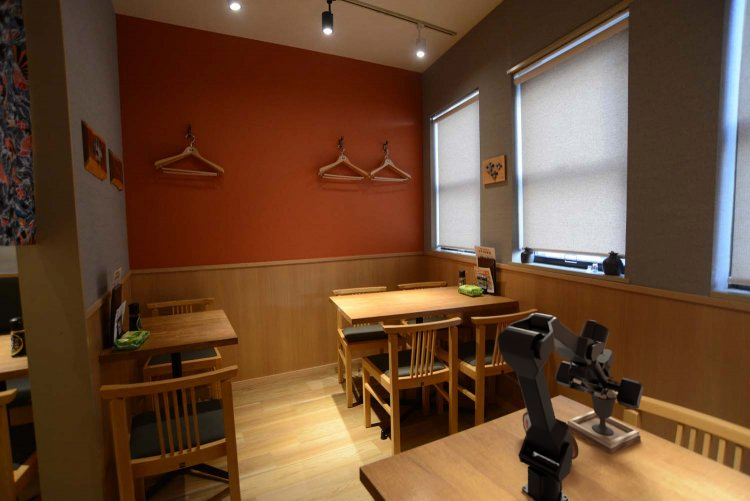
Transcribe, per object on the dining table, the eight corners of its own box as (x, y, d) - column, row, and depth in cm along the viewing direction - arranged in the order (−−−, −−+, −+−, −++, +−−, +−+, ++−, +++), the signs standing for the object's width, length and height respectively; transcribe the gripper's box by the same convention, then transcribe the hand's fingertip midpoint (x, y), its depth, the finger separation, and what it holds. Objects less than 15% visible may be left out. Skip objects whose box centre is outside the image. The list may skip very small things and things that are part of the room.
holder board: (610, 454, 85) (610, 444, 85) (566, 428, 96) (566, 420, 96) (640, 440, 90) (640, 431, 90) (595, 417, 101) (595, 409, 101)
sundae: (624, 435, 90) (625, 379, 89) (603, 439, 89) (604, 383, 88) (602, 421, 97) (602, 369, 96) (582, 425, 95) (582, 372, 94)
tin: (579, 467, 81) (579, 432, 81) (569, 471, 80) (570, 436, 79) (529, 432, 95) (529, 402, 94) (520, 435, 94) (520, 405, 93)
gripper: (642, 350, 81) (655, 381, 89) (559, 332, 96) (576, 360, 103) (630, 394, 77) (644, 423, 85) (545, 368, 92) (564, 395, 99)
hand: (604, 397), depth 93 cm, fingers open, 9 cm apart
